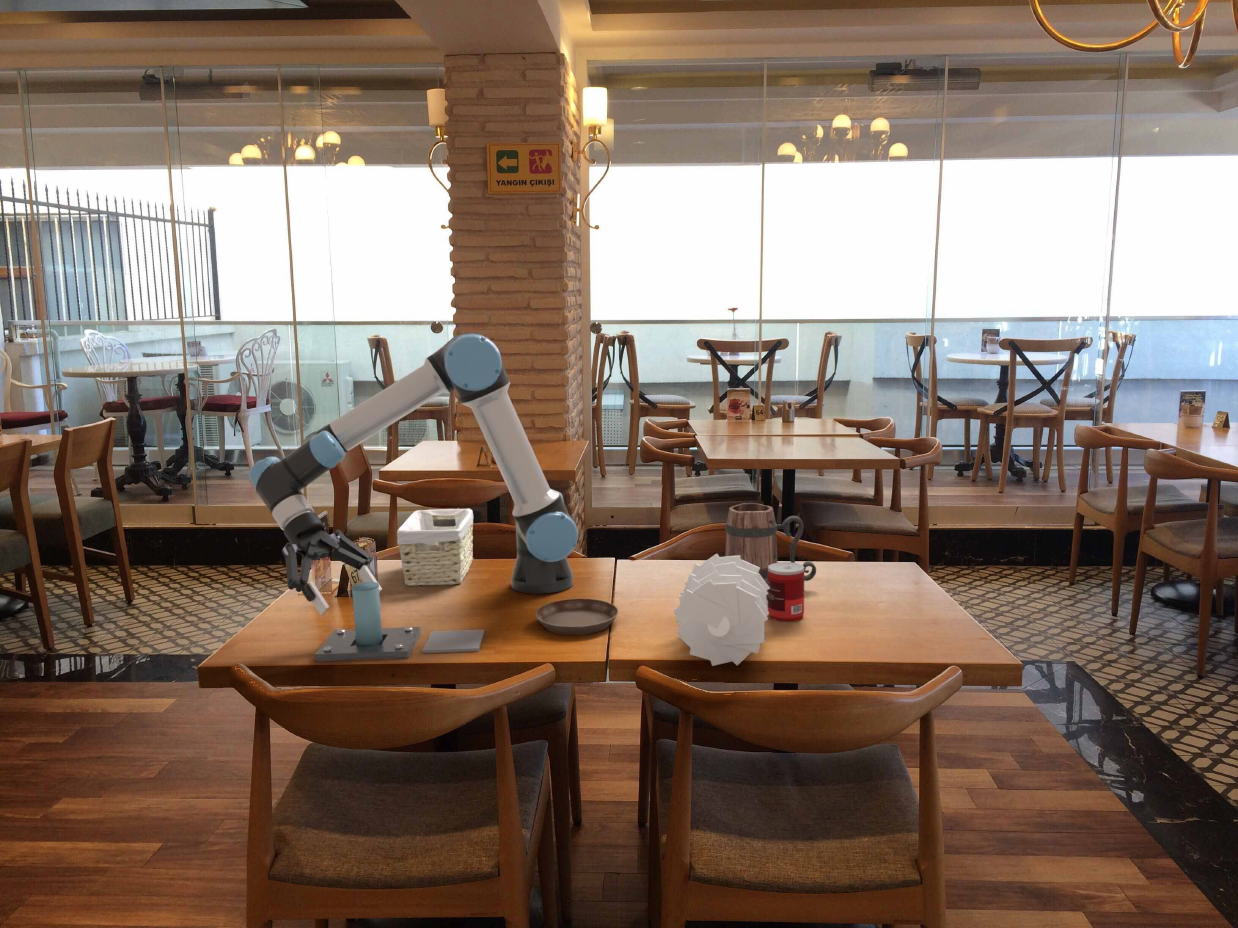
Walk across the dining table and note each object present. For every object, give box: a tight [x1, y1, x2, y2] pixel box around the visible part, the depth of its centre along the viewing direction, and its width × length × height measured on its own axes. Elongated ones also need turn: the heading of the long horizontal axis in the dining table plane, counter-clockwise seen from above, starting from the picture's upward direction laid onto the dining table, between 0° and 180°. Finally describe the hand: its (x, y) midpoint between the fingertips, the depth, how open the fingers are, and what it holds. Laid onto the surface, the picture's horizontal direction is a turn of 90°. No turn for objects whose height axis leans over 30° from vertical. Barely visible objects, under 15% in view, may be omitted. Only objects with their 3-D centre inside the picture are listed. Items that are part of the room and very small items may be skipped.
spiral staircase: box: [673, 553, 770, 667], centre depth 183 cm, size 18×18×25 cm
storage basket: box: [396, 507, 475, 587], centre depth 242 cm, size 24×16×15 cm
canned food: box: [767, 561, 805, 623], centre depth 202 cm, size 8×8×11 cm
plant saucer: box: [535, 598, 619, 636], centre depth 202 cm, size 18×18×3 cm
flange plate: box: [314, 626, 422, 662], centre depth 191 cm, size 18×14×2 cm
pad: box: [422, 629, 485, 654], centre depth 192 cm, size 11×11×1 cm
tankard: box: [724, 502, 817, 601], centre depth 220 cm, size 24×17×20 cm
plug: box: [351, 581, 384, 646], centre depth 190 cm, size 5×5×13 cm
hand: (352, 602), depth 191 cm, fingers open, 13 cm apart
